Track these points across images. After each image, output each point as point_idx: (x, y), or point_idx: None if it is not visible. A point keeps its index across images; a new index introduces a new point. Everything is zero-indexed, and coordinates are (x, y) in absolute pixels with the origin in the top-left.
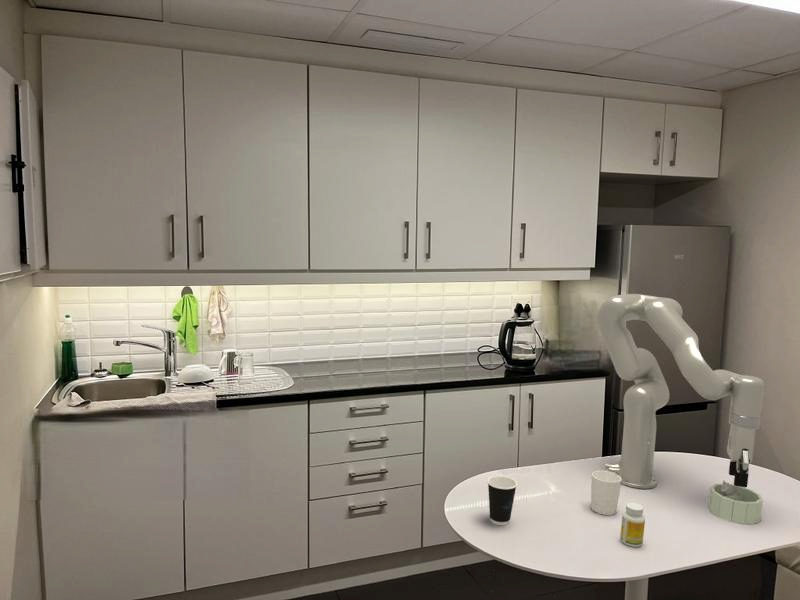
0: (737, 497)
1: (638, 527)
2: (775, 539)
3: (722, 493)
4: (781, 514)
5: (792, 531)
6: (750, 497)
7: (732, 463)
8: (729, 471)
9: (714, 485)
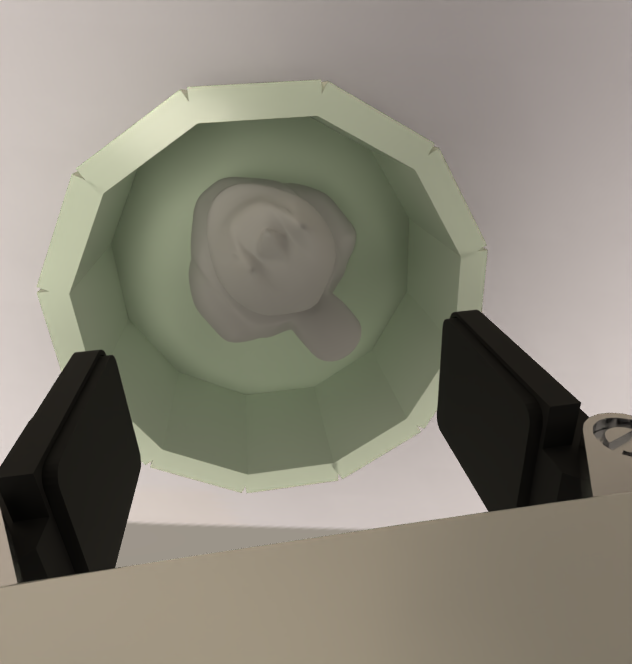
0: (214, 323)
1: None
2: (2, 452)
3: (413, 204)
4: (389, 488)
5: (186, 521)
6: (376, 398)
7: (519, 423)
8: (470, 327)
9: (385, 128)
